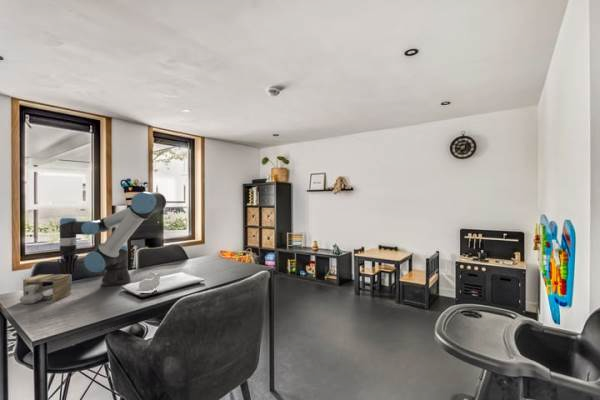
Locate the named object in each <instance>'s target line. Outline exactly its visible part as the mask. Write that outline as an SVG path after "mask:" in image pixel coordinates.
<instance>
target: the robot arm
mask: <svg viewBox="0 0 600 400" xmlns="http://www.w3.org/2000/svg"><path fill="white" fill-rule="evenodd" d="M166 205H167V199H166V197H165V196H164V194H162V193H160V192H157V191H156V192H152V191H141V192H138V193H136V194H135V195H134V196H133V197H132V198H131V200H130V206H129V207H127V208H124V209H122V210H120V211H117V212H114V213H112V214H109V215H108V216H105V217H103V218H100V219H97V220H95V219H94V220H86V221H83V220H82V221H77V218H76V217H62V218H60V220H59V225H58V227H59V245H60V246H59V253H61V255H60V258H58V259H57V263H58V265H59V271H60V274H70V279H71V287H72V279H73V275H74V273H75V272H76V268H77V267H76V266H77V263H78V261H77V260H78V258H79V255H78V254H76V251H77V245H76V244H77V235H81V236H82V235H87V236H90V235H91V236H92V235H96V234H97V233H98V234H99V233H105V232H108V231H110V230H111V229H113V228H115V229H114V230H113V232H112V233H111V234H110V236H108V238H107V239H106V240H105V241H104V242H103V243H101V242H100V243H98V245H97V246H96V248H95V249H94V250H93V251H90V252H88V253H87V254H86V255H85V257H84V259H83V260H84V261H83V262H84V266H85V268H86V269H87V270H88V271H90V272H92V273H100V272H102V271H104V274H103V276H102V278H101V285H102V286H105V287H110V286H120V285H125V284H128V283H130V282H131V281H132V280H131V275H130V271H129V269H128V251H129V250H128V246H127V245H125V244H126V243H127V241H128V240H129V239H130V237H131V236H132V235H133V234H134V233H135V232H136V230H137V229H138V228H139V227H140V226H141V224H142V223H143V222H144V221H145V220H149V219H150V217H151V216H152V215H153V214H155V213H159V212H161V211H163V210H164V209H165V207H167V206H166Z"/></svg>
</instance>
